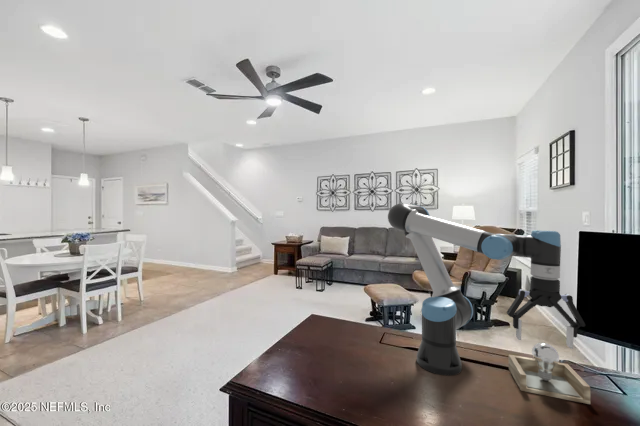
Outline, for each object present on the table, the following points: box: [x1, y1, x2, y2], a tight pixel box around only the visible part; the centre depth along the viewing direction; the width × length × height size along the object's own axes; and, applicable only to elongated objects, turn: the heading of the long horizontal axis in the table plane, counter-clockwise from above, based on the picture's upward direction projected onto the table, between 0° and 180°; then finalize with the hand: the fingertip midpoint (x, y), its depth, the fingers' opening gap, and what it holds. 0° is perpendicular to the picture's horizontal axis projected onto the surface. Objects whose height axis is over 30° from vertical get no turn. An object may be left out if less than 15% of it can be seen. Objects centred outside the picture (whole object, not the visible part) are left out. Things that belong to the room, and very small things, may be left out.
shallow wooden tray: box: [508, 354, 591, 405], centre depth 90 cm, size 17×14×5 cm
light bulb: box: [531, 342, 560, 381], centre depth 90 cm, size 7×7×12 cm
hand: (543, 342), depth 90 cm, fingers open, 13 cm apart
